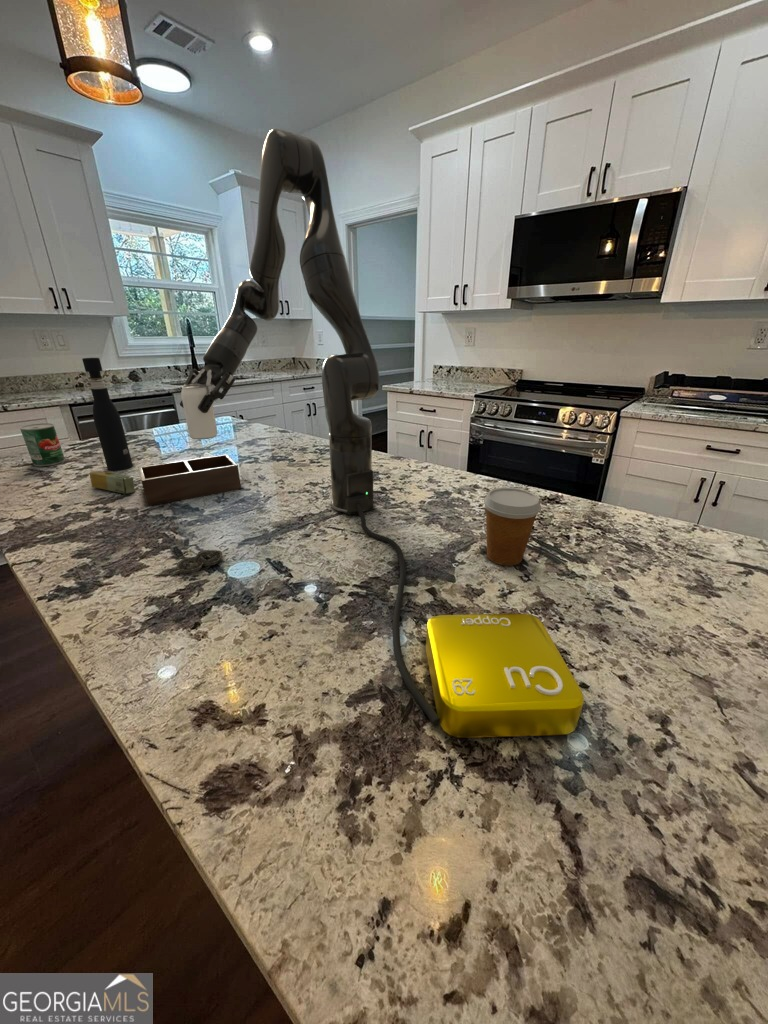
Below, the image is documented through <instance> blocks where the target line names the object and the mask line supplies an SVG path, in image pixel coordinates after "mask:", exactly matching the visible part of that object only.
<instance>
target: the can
mask: <svg viewBox="0 0 768 1024" xmlns="http://www.w3.org/2000/svg"><path fill="white" fill-rule="evenodd" d="M206 393H207V386H206V385H205V384H203V385H202V384H191V383H190V384H189V385H184V384H183V385H182V386H181V392H180V396H181V397H180V398H181V401H182V402H183V407H184V408H183V407H182V408H183V411H184V416H185V417H184V418H185V422H186V426H187V431H188V435H189V437H190V439H192V440H197V441H199V440H200V441H201V440H209V439H213V438H216V437H217V435H218V426H217V421H216V415H215V408H214V403H213V404H212V405H211V407H210V409H209V410H208V412H207V413H203V412H201V411H200V410H199V409H198V406H199V404H200V402H201V401H202V399H203V397H204V396H205V395H207V394H206Z"/></svg>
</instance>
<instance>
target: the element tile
mask: <svg viewBox="0 0 768 1024" xmlns="http://www.w3.org/2000/svg"><path fill="white" fill-rule="evenodd" d="M425 637H426V639H425V653H426V658H427V665H428V670H429V675H430V682H431V687H432V694H433V698H434V704H435V711H436V714H437V715H438V717H439V724H438V725H440V727H441V729H442V730H443V732H445V733H446V734H448V735H449V736H451V737H454V738H459V739H460V738H461V739H465V738H466V739H467V738H468V739H469V738H472V739H473V738H500V737H502V738H504V737H536V736H539V737H540V736H541V737H543V736H565V735H570V734H571V733H573V732H575V730H576V728H577V727H578V723H579V720H580V717H581V713H582V710H583V706H584V703H585V702H584V693H583V691H582V689H581V688H580V686H579V684H578V682H577V681H576V679H575V677H574V676H573V673H572V672H571V670H570V668H569V667H568V665H567V663H566V661H565V660H564V658H563V656H562V655H561V653H560V651H559V649H558V648H557V646H556V644H555V642H554V640H553V639H552V636H551V635H550V634H549V631H548V630H547V628H546V627H545V624H544V623H543V622H542V621H541V620H540V619H539V618H537V616H535V615H532V614H527V613H479V614H477V613H476V614H473V613H472V614H438V615H435V616H432V617H430V618H429V619H428V621H427V623H426V635H425Z"/></svg>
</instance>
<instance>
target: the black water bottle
mask: <svg viewBox="0 0 768 1024" xmlns="http://www.w3.org/2000/svg"><path fill="white" fill-rule="evenodd" d="M81 361H82V364H83V366H84V370H85V372H86V373H88V374H89V379H90V380H91V381H90V384H89V385H90V387H91V389H90V391H91V396H92V398H93V404H92V417H93V418H92V419H93V423H94V426H95V430H96V433H97V437H98V439H99V443H100V446H101V450H102V454H103V457H104V460H105V465H106V468H107V470H108V471H123V470H127V469H130V468H132V467H133V466H134V465H133V461H132V457H131V453H130V449H129V445H128V442H127V436H126V434H125V430H124V425H123V422H122V418H121V415H120V413H119V411H118V409H117V407H116V405H115V404H114V402H113V401H112V399H111V398H110V394H109V389H108V388H107V387H106V382H105V381H104V380H102V379H103V377H102V374H101V372H103V371H104V369H103V367H102V362H101V359H100V357H83V358H81Z"/></svg>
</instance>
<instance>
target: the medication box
mask: <svg viewBox="0 0 768 1024" xmlns="http://www.w3.org/2000/svg"><path fill="white" fill-rule="evenodd" d="M89 478H90V484H91V487H92V488H96V489H101V490H105V491H110V492H115V493H120V494H123V495H129V494H134V493H135V492H136V490H135V482H134V481H135V480H134V476H131V475H125V474H119V473H116V472H115V473H113V472H109V471H102V470H94V471H90V472H89Z"/></svg>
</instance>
